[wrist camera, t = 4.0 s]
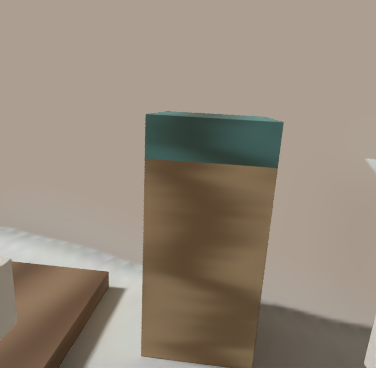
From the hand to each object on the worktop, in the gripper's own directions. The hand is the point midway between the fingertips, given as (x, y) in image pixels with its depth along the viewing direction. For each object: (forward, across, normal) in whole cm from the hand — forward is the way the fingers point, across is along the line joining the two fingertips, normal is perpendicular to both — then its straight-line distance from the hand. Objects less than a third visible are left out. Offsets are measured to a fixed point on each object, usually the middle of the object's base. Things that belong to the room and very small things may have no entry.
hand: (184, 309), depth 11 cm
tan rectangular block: (+7, 0, -6) cm, 10 cm away
